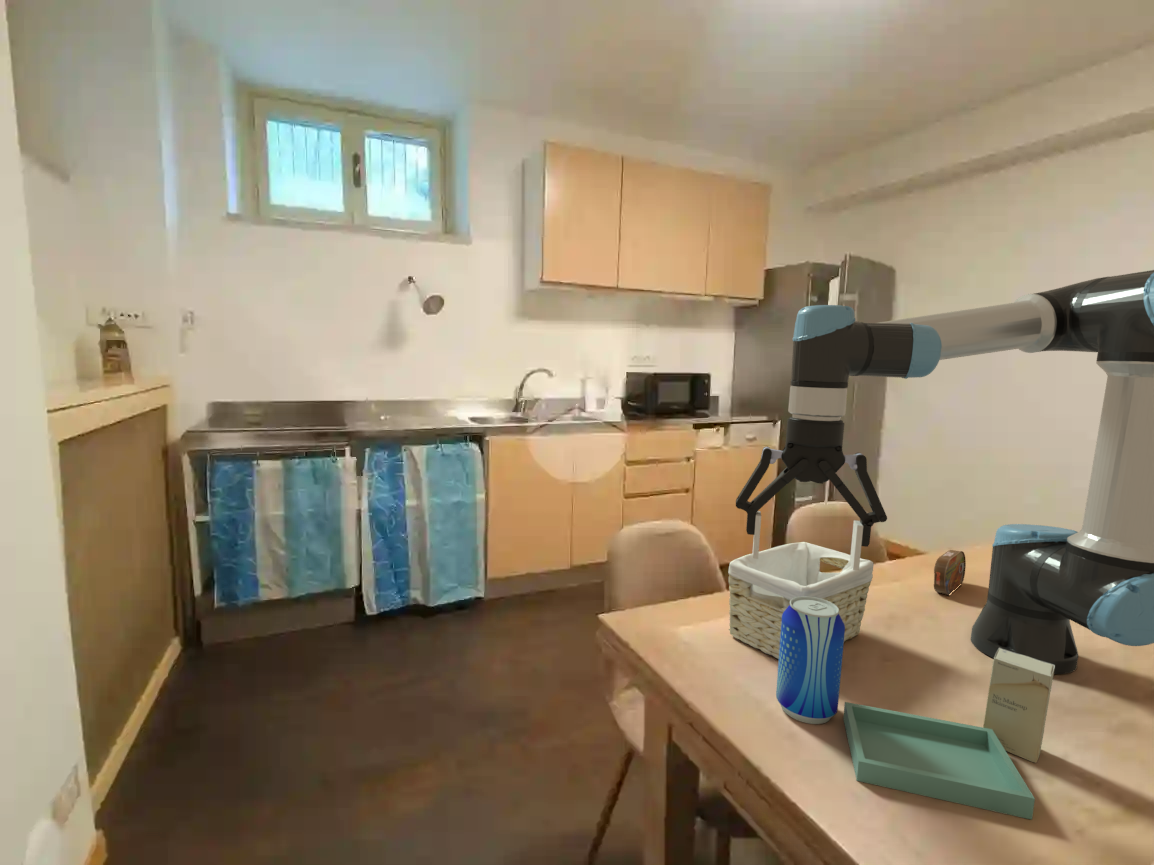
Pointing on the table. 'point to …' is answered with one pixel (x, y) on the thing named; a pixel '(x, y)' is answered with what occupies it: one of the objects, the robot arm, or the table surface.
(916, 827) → the table surface
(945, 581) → the tin
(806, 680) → the beer can
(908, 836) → the table surface
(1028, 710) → the skincare box
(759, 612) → the storage basket
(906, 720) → the tray
